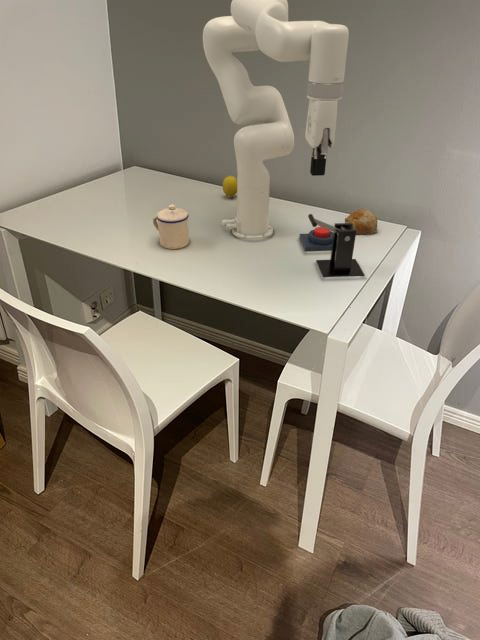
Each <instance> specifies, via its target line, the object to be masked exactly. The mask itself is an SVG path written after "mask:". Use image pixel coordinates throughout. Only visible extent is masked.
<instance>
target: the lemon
mask: <svg viewBox="0 0 480 640" xmlns="http://www.w3.org/2000/svg"><path fill="white" fill-rule="evenodd" d="M222 191H223V193H224V194H225V195H226V196H228V197H229V198H233V196H234V197H235V195H237V177H235V176H233V175H231V174H230V175H228V176H226V177H225V178H224V179H223V181H222Z"/></svg>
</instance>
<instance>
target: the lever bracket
mask: <svg viewBox="0 0 480 640" xmlns="http://www.w3.org/2000/svg"><path fill="white" fill-rule="evenodd" d="M333 226H334V227H336V228H339V229H340V227H341V226H342V227H345V228H347V229H349V230H338V235H337V233H335V232H333V241H332V249H331V251H330V257H329V259H316V260H315V261H316V264H317V266H318V269H319V271H320V274H321V276H322V278H342V277H345V278H346V277H365V273H364V271H363V270H362V267H361V265H360V264H359V262H358V261H357V259H356V258H353V255H354V249H355V243H356V236H357V234H356V230H351V229H352V224H351V223H345V222H344V223H343V222H342V223H341V222H339V223H337V222H336V223H334V225H333Z"/></svg>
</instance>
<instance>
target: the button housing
mask: <svg viewBox="0 0 480 640" xmlns="http://www.w3.org/2000/svg"><path fill="white" fill-rule="evenodd" d="M333 233H334V232H333V231H330V234H329V237H327V238H319V237H316V236H314V229H311V230H309V232H308V233H299V240H300V243H301V245H302V248H303V250H304V252H327V251H328V252H329V251H330V252H331V249H332V241H333Z"/></svg>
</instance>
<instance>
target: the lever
mask: <svg viewBox="0 0 480 640" xmlns="http://www.w3.org/2000/svg"><path fill="white" fill-rule="evenodd" d="M307 218H308V220H309V223H310V224H311V226H312V227H313V228H316V227H323V228H325V229H328V230H330V231H332V232H333V233H334V232H335V233H337V235H338V230H349V229H347V228H345V227H342V226H341V227H340V229H339V228H336V227H334V225H332V224H328V223H327V222H324V221H321V220H319V219H317V218H315V217H314V215H313V214H312V213H309V214H308V216H307Z"/></svg>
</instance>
